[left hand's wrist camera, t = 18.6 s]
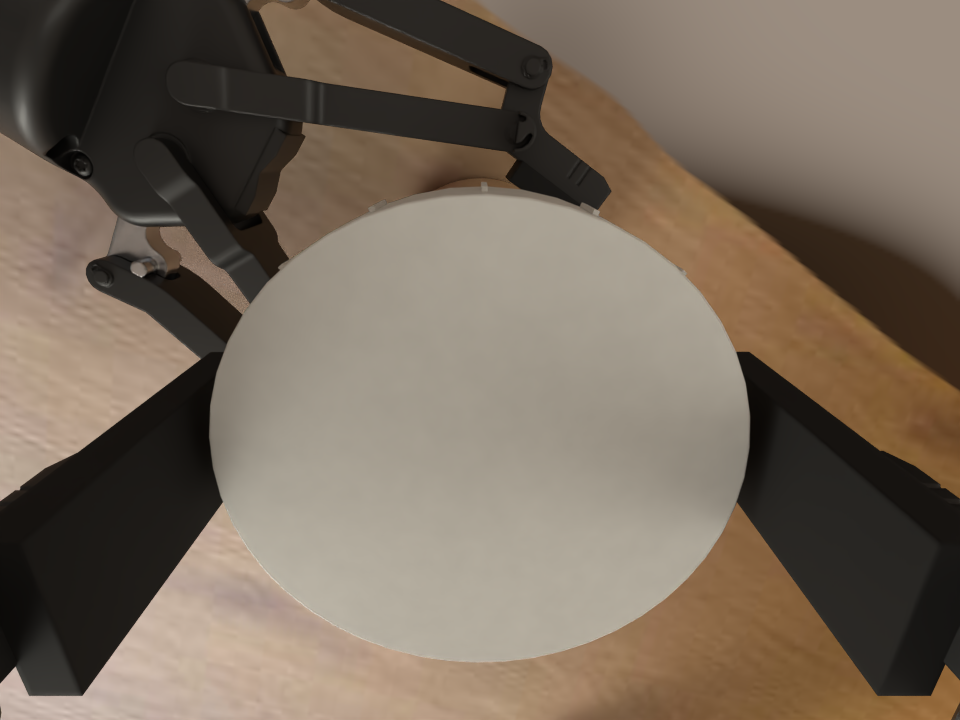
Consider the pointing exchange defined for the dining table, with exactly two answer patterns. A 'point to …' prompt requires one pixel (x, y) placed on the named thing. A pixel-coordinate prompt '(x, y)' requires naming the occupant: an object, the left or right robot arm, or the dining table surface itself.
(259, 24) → the right robot arm
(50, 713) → the dining table surface
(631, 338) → the lid
